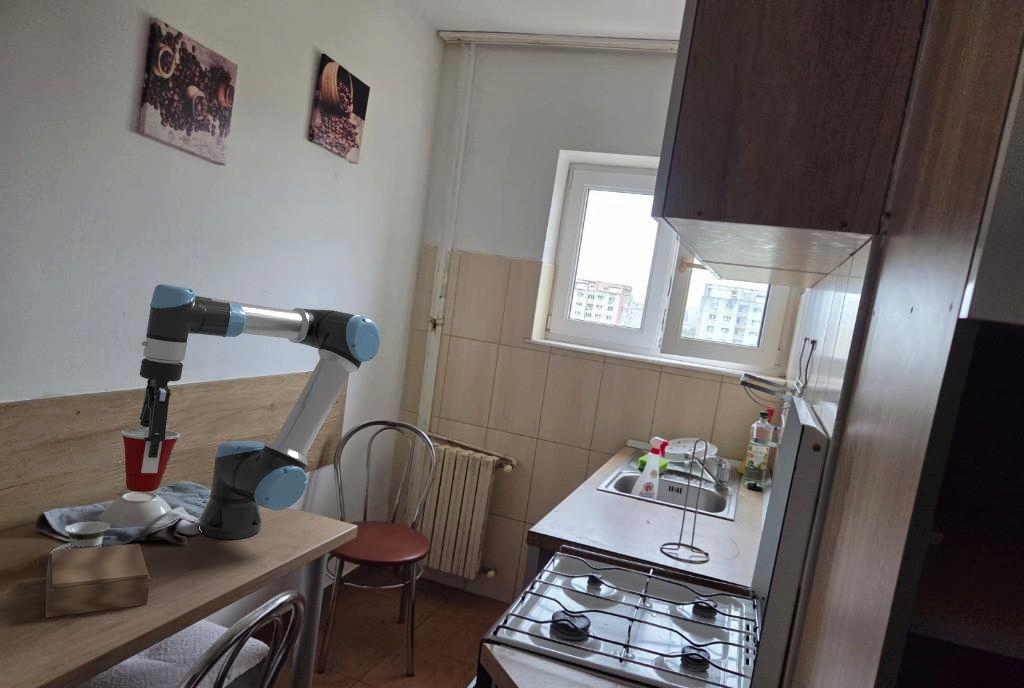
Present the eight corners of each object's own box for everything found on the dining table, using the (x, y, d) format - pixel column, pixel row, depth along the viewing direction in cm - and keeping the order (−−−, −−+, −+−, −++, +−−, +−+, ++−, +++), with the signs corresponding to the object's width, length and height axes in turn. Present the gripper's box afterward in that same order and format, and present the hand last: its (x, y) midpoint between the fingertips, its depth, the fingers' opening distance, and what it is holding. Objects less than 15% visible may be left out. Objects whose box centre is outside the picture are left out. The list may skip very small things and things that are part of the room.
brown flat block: (137, 569, 136) (141, 542, 136) (146, 604, 124) (150, 574, 123) (45, 578, 127) (49, 550, 126) (45, 617, 114) (49, 585, 114)
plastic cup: (162, 478, 138) (171, 425, 138) (178, 494, 131) (187, 437, 130) (105, 480, 131) (115, 424, 130) (118, 497, 123) (128, 437, 123)
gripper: (136, 349, 137) (119, 448, 138) (149, 366, 118) (130, 481, 119) (174, 353, 141) (158, 449, 142) (193, 371, 123) (174, 481, 123)
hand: (145, 464), depth 130 cm, fingers closed on plastic cup, 11 cm apart
